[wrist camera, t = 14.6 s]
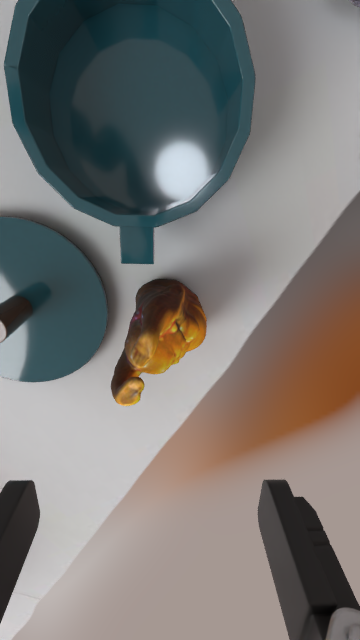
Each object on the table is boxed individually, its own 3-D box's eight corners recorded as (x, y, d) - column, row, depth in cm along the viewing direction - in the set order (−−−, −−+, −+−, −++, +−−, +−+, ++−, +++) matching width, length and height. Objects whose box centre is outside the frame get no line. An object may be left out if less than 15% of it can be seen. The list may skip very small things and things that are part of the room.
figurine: (197, 337, 31) (214, 427, 19) (129, 327, 30) (103, 414, 18) (210, 275, 28) (239, 331, 16) (137, 263, 28) (112, 313, 16)
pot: (58, 250, 27) (33, 263, 22) (20, -71, 20) (-31, -161, 15) (225, 254, 28) (237, 268, 23) (250, -57, 20) (277, -140, 15)
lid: (-42, 375, 31) (-86, 413, 26) (-87, 213, 26) (-157, 218, 20) (113, 376, 32) (102, 414, 27) (104, 218, 26) (86, 224, 21)
